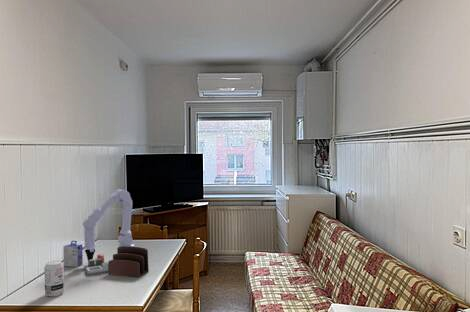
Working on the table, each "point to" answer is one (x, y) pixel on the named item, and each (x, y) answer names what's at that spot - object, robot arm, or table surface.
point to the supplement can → (54, 278)
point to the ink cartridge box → (72, 255)
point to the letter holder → (129, 262)
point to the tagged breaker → (91, 262)
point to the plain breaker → (98, 261)
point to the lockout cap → (101, 257)
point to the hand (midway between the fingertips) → (90, 261)
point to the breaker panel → (96, 269)
